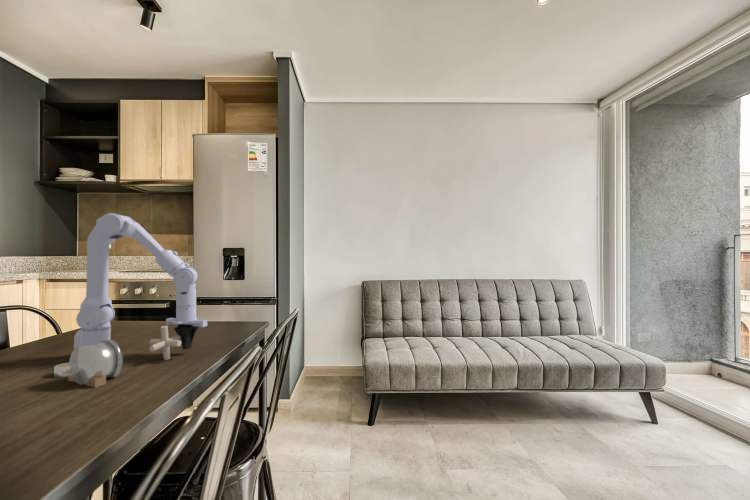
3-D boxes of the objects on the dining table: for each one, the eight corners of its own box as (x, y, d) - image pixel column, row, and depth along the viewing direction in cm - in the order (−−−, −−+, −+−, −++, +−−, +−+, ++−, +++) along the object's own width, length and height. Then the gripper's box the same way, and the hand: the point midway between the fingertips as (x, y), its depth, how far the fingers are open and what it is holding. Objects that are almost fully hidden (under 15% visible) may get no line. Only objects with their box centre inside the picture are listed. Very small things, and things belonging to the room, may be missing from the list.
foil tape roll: (49, 375, 95) (49, 366, 95) (71, 370, 100) (72, 360, 100) (60, 378, 93) (61, 368, 93) (83, 372, 98) (83, 363, 98)
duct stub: (66, 382, 91) (67, 343, 91) (97, 374, 98) (98, 337, 98) (93, 389, 87) (94, 348, 87) (123, 380, 93) (124, 341, 93)
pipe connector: (167, 366, 105) (164, 332, 104) (139, 364, 107) (136, 331, 106) (193, 353, 114) (190, 322, 113) (166, 352, 117) (163, 321, 116)
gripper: (157, 306, 115) (158, 350, 115) (195, 308, 111) (195, 353, 111) (176, 303, 122) (176, 344, 122) (212, 304, 117) (212, 347, 117)
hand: (186, 348), depth 117 cm, fingers closed
